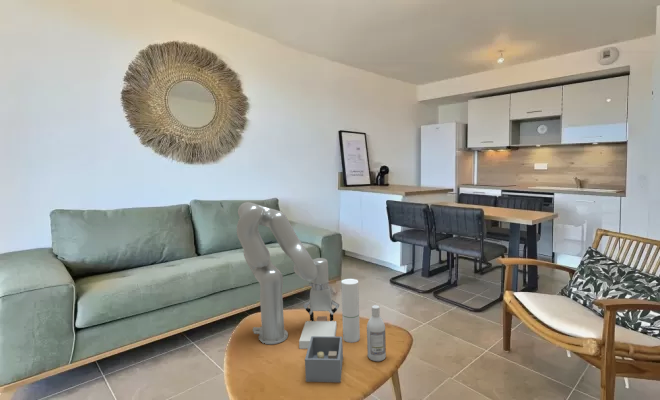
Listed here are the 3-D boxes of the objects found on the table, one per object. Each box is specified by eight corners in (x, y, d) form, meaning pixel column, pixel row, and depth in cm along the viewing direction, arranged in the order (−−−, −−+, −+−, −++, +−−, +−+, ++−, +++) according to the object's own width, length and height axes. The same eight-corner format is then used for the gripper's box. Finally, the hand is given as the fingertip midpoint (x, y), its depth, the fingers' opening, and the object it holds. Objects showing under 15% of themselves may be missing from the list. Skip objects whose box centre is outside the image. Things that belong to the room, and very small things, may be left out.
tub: (340, 382, 116) (339, 360, 115) (305, 381, 117) (304, 359, 116) (342, 356, 131) (342, 336, 131) (312, 355, 133) (311, 336, 132)
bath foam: (389, 358, 129) (388, 307, 127) (374, 363, 126) (372, 311, 124) (379, 350, 135) (378, 301, 133) (364, 354, 132) (362, 305, 130)
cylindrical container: (359, 334, 148) (358, 278, 146) (359, 342, 141) (358, 284, 139) (343, 334, 149) (341, 278, 147) (342, 342, 142) (340, 284, 139)
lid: (333, 349, 137) (333, 341, 137) (299, 348, 138) (299, 341, 138) (337, 322, 160) (337, 316, 159) (307, 322, 161) (307, 316, 161)
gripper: (300, 288, 153) (302, 325, 155) (338, 288, 152) (340, 325, 154) (303, 282, 161) (304, 318, 163) (339, 282, 159) (340, 318, 161)
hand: (321, 321), depth 158 cm, fingers open, 8 cm apart
